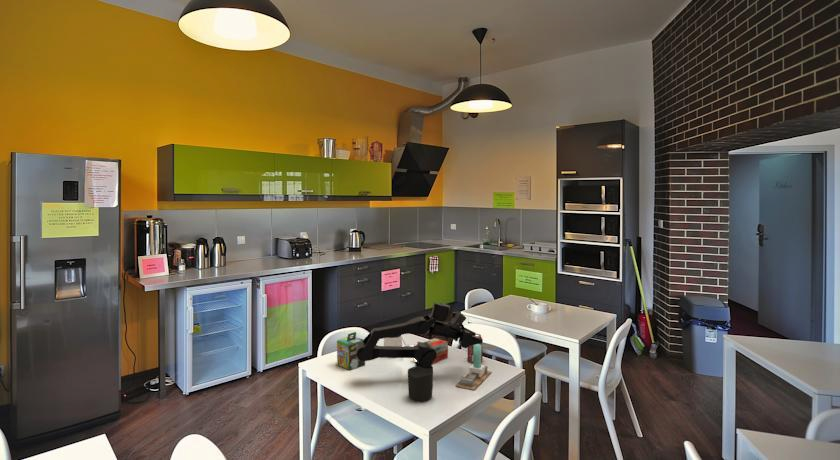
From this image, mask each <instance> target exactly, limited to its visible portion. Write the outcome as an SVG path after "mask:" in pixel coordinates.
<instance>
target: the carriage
mask: <svg viewBox="0 0 840 460" xmlns="http://www.w3.org/2000/svg"><path fill="white" fill-rule="evenodd" d="M484 365H485V364H482V361H481V345H480V344H475V345H474V348H473V363H472V365H471V366H469V367H468V368H469V370H468V373H469V372H470V375H471V374H472V373H478V374H479V377H481V376H482V375H483V374H484V373H485V366H486V365H485V366H484Z"/></svg>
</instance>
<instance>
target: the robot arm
mask: <svg viewBox="0 0 840 460" xmlns="http://www.w3.org/2000/svg"><path fill="white" fill-rule="evenodd" d="M450 308H451V306H450V305H448V304H446V303H443V302H433V303H432V310H431V312H430V313H428V314H426V315H424V316H416V317H415V318H411V319H410V320H408V321H406V322H402V323H397V324H392V325H387V326H381V327H374V328H373V329H371V330H370V332H369V333H368V334H367V335H366V337H364V339H363V341H362V342H360V343H359V344H358V345H357V347H356V354H357V358H358V359H359V360H360V361H365V362H369V361H374V360H376V359H379V358H382V359H383V358H386V359H387V358H391V359H414V358H415V359H416V360H417V362H414V363H415V364H414V367H421V368H424V369H429V368H431V369H433V370H434V367H433V364H434V363H433V361H434V360H435V358H436V356H437V353H436V351H435V349H434V348H433V346H432V345H431V344H429V343H427V342H425V341H422V342H421V341H417V344H418V345H416V344H415V345H416V346H414V345H413V346H402V347H401V346H384V345H377V344H378V342H379V341H380V340H382V339H383V340H384V338H388V337H393V336H398V335H401V336H402V335H407V334H409V335H410V334H411V335H426V336H427V337H428V340H431V339H433V336H437V337H440V338H444V339H445V340H449V339H450V340H454V341H455V342H458V344H459V346H460V347H461V348H463V349H467V347H469V346H472V345H475V344H479V343H482V342H483V340H482V339H483V338H482V339H480V338H477V337H475V336H476V334H477V332H475V331H473V330H471V329H468V328H467V327H465V326H464V325H463V323H464V322H465V321H467V320H466V319H467V317H466V316H465V314H463V313H461V312H460V311H452V312H451V313H450V316H451V321H447V319H448V316H449V312H450V310H451V309H450ZM432 363H433V364H432Z"/></svg>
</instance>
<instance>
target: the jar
mask: <svg viewBox="0 0 840 460" xmlns="http://www.w3.org/2000/svg"><path fill="white" fill-rule="evenodd" d="M402 339H403V336H402V335H398V336H393V337H388V338H383V346H401V347H403V340H402Z"/></svg>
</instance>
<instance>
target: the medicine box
mask: <svg viewBox="0 0 840 460" xmlns="http://www.w3.org/2000/svg"><path fill="white" fill-rule="evenodd" d="M424 342H427V343H429V344H431V345H432V346H433V348H434V349H435V351H436V353H437V356H436V358H435V360H434V361H433V363H432V365H433V364H435V363H438V362H441V361H442V360H447V359H448V357H449V345H448V344H449V343H448V341H446V340H443V339H440V338H436V337H435V338H431V340H430V339H428V340H425V341H424ZM416 345H418V344H414V345H413V347H414V346H416Z"/></svg>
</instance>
